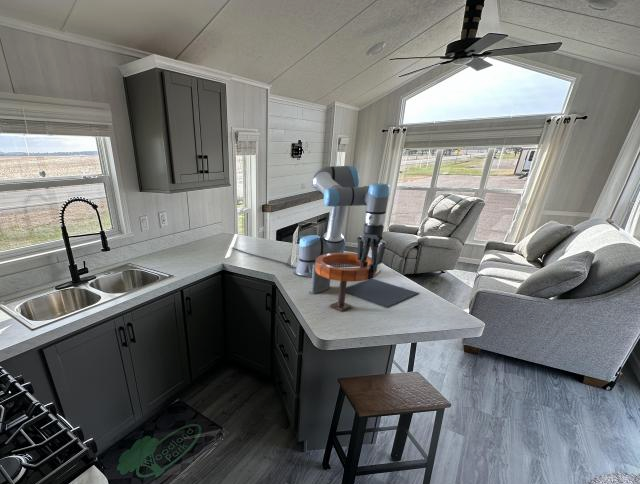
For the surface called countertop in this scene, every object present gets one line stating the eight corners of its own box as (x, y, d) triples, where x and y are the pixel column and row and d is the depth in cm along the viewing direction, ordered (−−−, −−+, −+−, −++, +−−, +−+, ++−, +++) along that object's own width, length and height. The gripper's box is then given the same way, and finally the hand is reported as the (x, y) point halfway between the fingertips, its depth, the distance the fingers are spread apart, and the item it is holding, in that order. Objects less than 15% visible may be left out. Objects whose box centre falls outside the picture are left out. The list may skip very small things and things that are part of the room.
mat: (340, 290, 179) (340, 289, 179) (371, 279, 193) (372, 278, 193) (387, 307, 158) (387, 306, 158) (418, 293, 172) (418, 292, 172)
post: (330, 306, 161) (332, 279, 155) (339, 302, 164) (342, 276, 159) (341, 311, 155) (344, 284, 150) (351, 307, 159) (354, 280, 153)
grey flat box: (331, 287, 183) (334, 256, 176) (315, 294, 175) (317, 262, 168) (326, 286, 186) (329, 255, 178) (309, 292, 178) (311, 260, 170)
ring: (303, 269, 156) (303, 259, 154) (340, 259, 170) (341, 249, 168) (349, 286, 135) (351, 274, 133) (388, 272, 149) (389, 261, 147)
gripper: (352, 222, 138) (346, 274, 147) (386, 227, 126) (377, 284, 135) (363, 219, 142) (356, 271, 151) (397, 225, 130) (388, 280, 139)
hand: (366, 277), depth 143 cm, fingers closed on ring, 3 cm apart
